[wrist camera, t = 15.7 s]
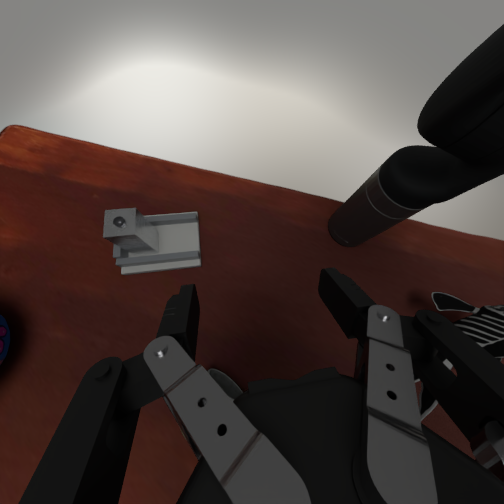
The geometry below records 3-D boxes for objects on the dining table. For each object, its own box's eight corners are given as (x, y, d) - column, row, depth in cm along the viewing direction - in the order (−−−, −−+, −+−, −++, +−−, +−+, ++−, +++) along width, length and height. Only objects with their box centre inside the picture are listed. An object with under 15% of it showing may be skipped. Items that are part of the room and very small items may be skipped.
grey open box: (198, 214, 45) (194, 204, 41) (201, 266, 42) (197, 261, 38) (126, 220, 43) (115, 210, 39) (124, 275, 40) (112, 270, 36)
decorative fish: (506, 342, 39) (646, 372, 24) (387, 409, 39) (456, 481, 24) (450, 272, 42) (543, 262, 28) (341, 334, 42) (376, 357, 28)
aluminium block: (158, 231, 42) (134, 206, 32) (158, 252, 41) (133, 233, 31) (135, 234, 41) (103, 208, 31) (134, 255, 40) (101, 236, 30)
